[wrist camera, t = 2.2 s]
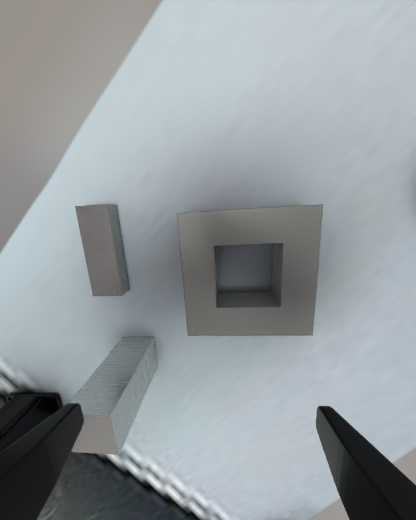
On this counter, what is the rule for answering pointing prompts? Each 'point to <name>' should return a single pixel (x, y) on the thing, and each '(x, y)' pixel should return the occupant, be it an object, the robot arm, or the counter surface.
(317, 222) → the bore block
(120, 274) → the flat bit
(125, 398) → the square bit
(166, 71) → the counter surface
